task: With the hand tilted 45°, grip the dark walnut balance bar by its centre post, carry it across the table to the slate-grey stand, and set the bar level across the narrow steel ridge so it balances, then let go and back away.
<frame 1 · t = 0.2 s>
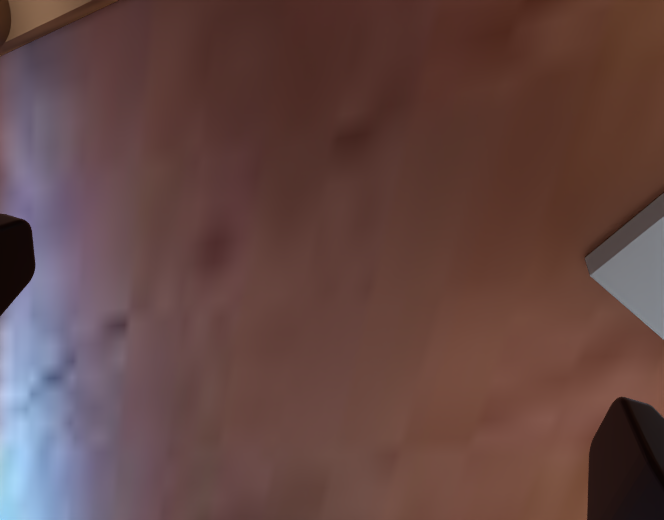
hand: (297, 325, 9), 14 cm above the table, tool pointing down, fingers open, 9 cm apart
walnut balance bar: (12, 5, 24), on the table
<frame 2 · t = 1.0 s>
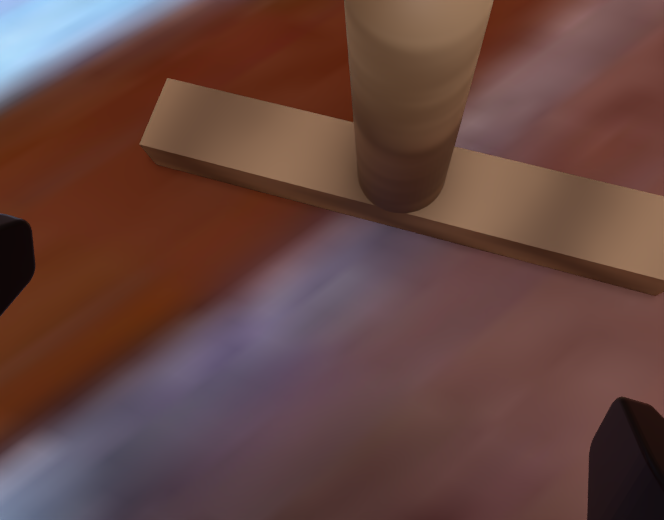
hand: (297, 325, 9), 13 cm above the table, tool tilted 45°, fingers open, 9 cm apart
walnut balance bar: (399, 193, 24), on the table
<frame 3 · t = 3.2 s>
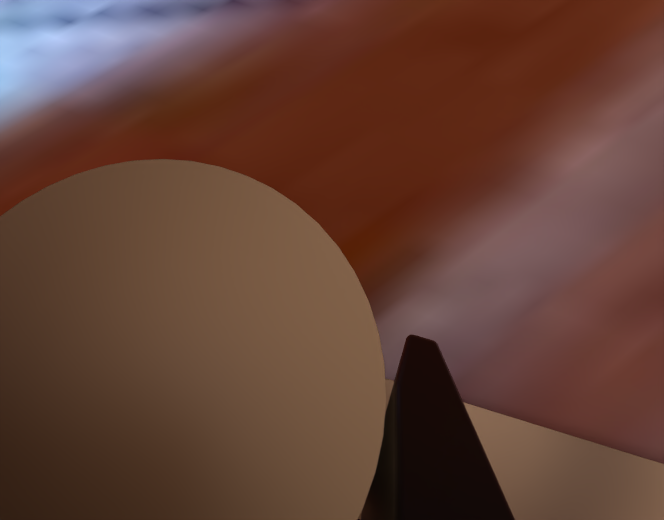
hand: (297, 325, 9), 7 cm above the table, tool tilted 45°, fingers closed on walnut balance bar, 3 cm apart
walnut balance bar: (315, 426, 15), on the table, touching gripper
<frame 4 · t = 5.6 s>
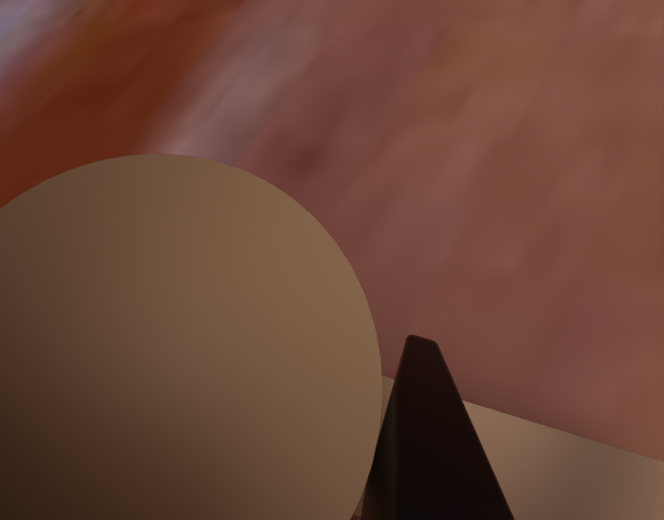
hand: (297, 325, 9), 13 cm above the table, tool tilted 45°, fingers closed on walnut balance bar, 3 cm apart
walnut balance bar: (314, 424, 15), point 6 cm above the table, touching gripper
when the fingers open (12 cm above the table, at t = 8.1 s): walnut balance bar stays where it is, resting on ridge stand.
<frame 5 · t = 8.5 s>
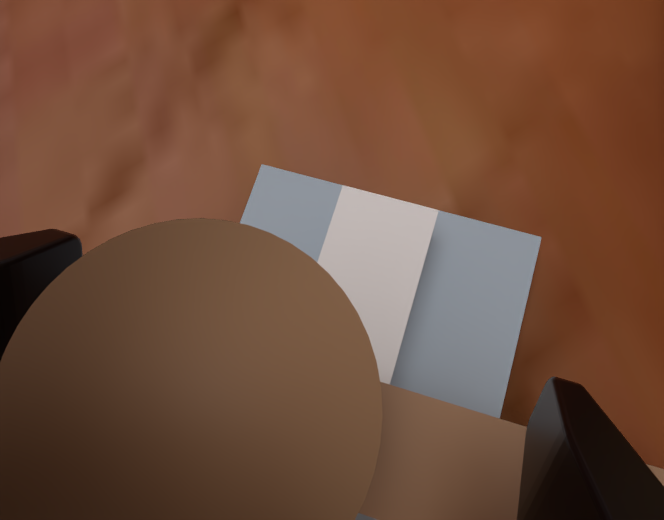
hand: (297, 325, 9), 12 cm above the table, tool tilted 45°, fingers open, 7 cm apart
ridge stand: (330, 428, 20), on the table
walnut balance bar: (319, 427, 16), point 4 cm above the table, touching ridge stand
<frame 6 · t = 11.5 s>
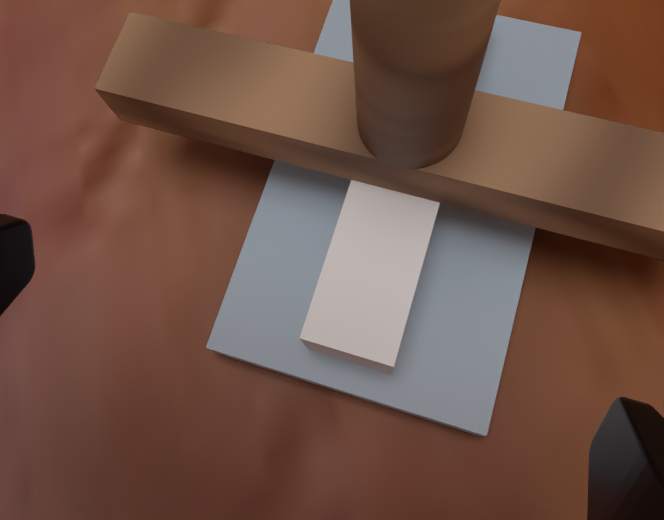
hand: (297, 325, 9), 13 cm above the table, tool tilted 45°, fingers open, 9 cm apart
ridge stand: (402, 196, 24), on the table
walnut balance bar: (407, 150, 20), point 4 cm above the table, touching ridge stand
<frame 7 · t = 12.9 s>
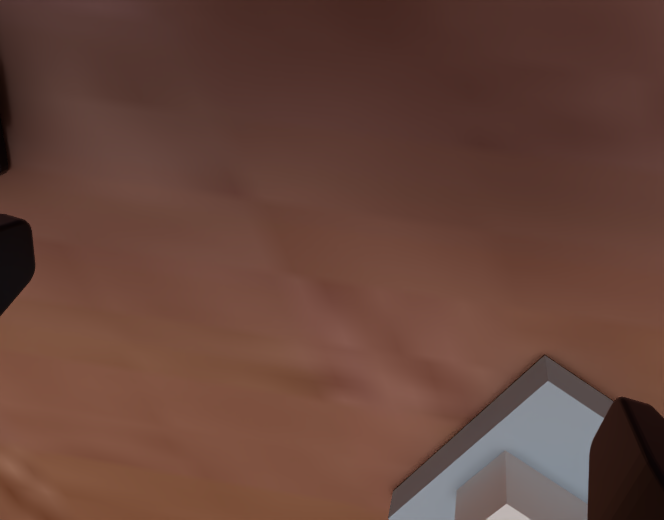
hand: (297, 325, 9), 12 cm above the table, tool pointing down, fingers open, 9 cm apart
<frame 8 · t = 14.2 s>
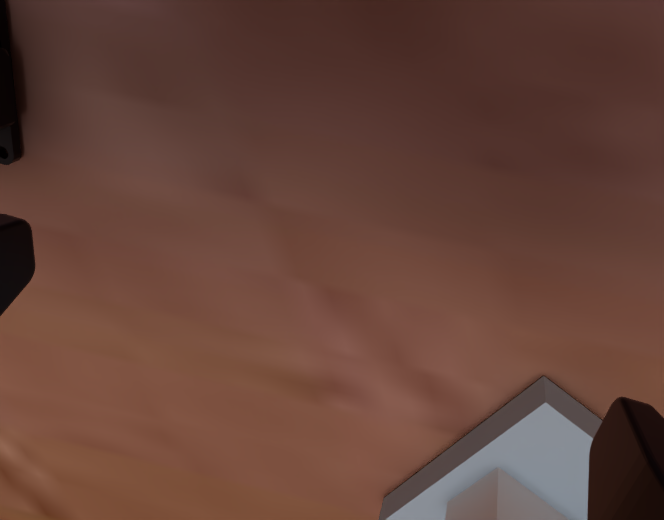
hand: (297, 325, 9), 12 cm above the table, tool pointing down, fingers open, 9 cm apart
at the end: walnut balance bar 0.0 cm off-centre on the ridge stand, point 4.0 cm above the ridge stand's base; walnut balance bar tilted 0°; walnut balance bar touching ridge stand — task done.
